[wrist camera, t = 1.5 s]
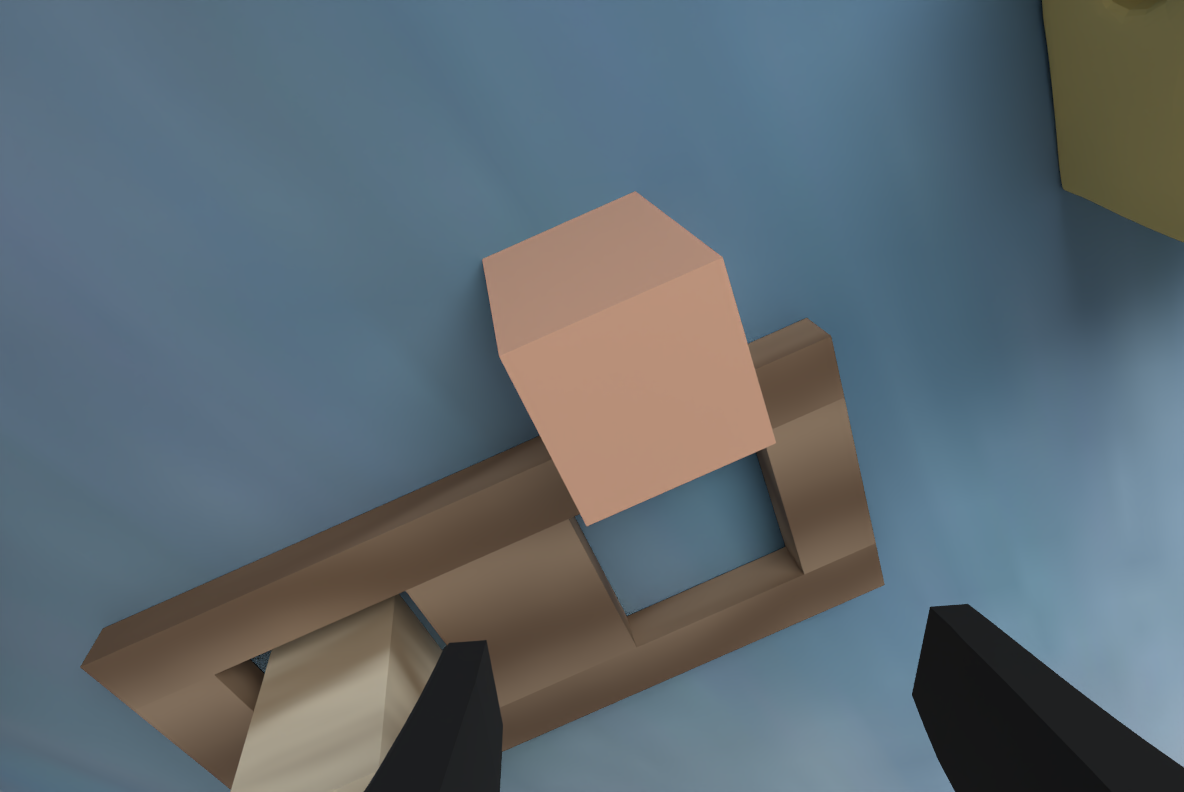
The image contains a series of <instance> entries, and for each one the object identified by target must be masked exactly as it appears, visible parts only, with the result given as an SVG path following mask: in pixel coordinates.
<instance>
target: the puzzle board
mask: <svg viewBox="0 0 1184 792" xmlns="http://www.w3.org/2000/svg"><path fill="white" fill-rule="evenodd" d="M748 347H749V350H750V354H751V357H752V361H753V364H754V368H755V371H756V375H757V378H758V382H759V385H760V389H761V392H762V395H763V399H764V402H765V406H766V409H767V413H768V416H769V420H770V423H771V427H772V430H773V434H774V437H775V440H776V443H775V444H773V445H771V446H769V447H766V448H764V449H762V450H760V451H757V452H756V454H757V457H758V460H759V463H760V466H761V470H762V473H763V476H764V479H765V482H766V486H767V489H768V492H769V495H770V498H771V502H772V505H773V508H774V511H775V514H776V518H777V521H778V524H779V527H780V530H781V534H782V537H783V540H784V543H785V547H784V548H782V549H780V550H777V551H775V552H773V553H771V554H768V555H766V556H764V557H761V558H759V559H757V560H755V561H752V562H750V563H748V564H745V565H743V566H741V567H739V568H736V569H734V570H732V571H729V572H727V573H725V574H723V575H720V576H718V577H716V578H713V579H711V580H709V581H707V582H704V583H702V584H700V585H698V586H695V587H693V588H691V589H688V590H686V591H684V592H682V593H679V594H677V595H675V596H672V597H670V598H668V599H666V600H663V601H661V602H659V603H656V604H654V605H652V606H650V607H647V608H645V609H643V610H640V611H638V612H636V613H634V614H631V615H629V616H626V614H625V612H624V610H623V608H622V606H621V605H620V603H619V601H618V599H617V597H616V595H615V593H614V591H613V589H612V587H611V585H610V584H609V582H608V580H607V578H606V576H605V574H604V572H603V570H602V568H601V566H600V564H599V562H598V561H597V559H596V557H595V555H594V553H593V551H592V549H591V547H590V545H589V543H588V541H587V539H586V538H585V536H584V534H583V532H582V530H581V528H580V526H579V524H578V522H577V520H576V518H575V517H574V516H576V515H579V514H580V512H579V510H578V509H577V507H576V505H575V503H574V501H573V499H572V497H571V495H570V493H569V491H568V489H567V487H566V485H565V483H564V481H563V479H562V477H561V475H560V474H559V472H558V470H557V468H556V466H555V464H554V462H553V460H552V458H551V456H550V454H549V452H548V450H547V448H546V446H545V444H544V442H543V441H542V439H541V437H540V436H538V437H536V438H534V439H531V440H529V441H527V442H524V443H522V444H520V445H518V446H515V447H513V448H511V449H509V450H506V451H504V452H502V453H500V454H497V455H495V456H493V457H490V458H488V459H486V460H484V461H481V462H479V463H477V464H475V465H472V466H470V467H468V468H466V469H463V470H461V471H459V472H456V473H454V474H452V475H450V476H447V477H445V478H443V479H441V480H438V481H436V482H434V483H432V484H429V485H427V486H425V487H423V488H420V489H418V490H416V491H413V492H411V493H409V494H407V495H404V496H402V497H400V498H398V499H395V500H393V501H391V502H389V503H386V504H384V505H382V506H379V507H377V508H375V509H373V510H370V511H368V512H366V513H364V514H361V515H359V516H357V517H355V518H352V519H350V520H348V521H345V522H343V523H341V524H339V525H336V526H334V527H332V528H330V529H327V530H325V531H323V532H321V533H318V534H316V535H314V536H311V537H309V538H307V539H305V540H302V541H300V542H298V543H296V544H293V545H291V546H289V547H287V548H284V549H282V550H280V551H277V552H275V553H273V554H271V555H268V556H266V557H264V558H262V559H259V560H257V561H255V562H253V563H250V564H248V565H246V566H243V567H241V568H239V569H237V570H234V571H232V572H230V573H228V574H225V575H223V576H221V577H219V578H216V579H214V580H212V581H210V582H207V583H205V584H203V585H200V586H198V587H196V588H194V589H191V590H189V591H187V592H185V593H182V594H180V595H178V596H176V597H173V598H171V599H169V600H166V601H164V602H162V603H160V604H157V605H155V606H153V607H151V608H148V609H146V610H144V611H142V612H139V613H137V614H135V615H132V616H130V617H128V618H126V619H123V620H121V621H119V622H117V623H114V624H112V625H110V626H108V627H105V628H103V629H102V631H101V633H100V634H99V636H98V638H97V639H96V641H95V643H94V645H93V646H92V648H91V650H90V651H89V653H88V655H87V656H86V658H85V660H84V661H83V663H82V665H81V668H82V669H83V670H84V671H85V672H87V673H88V674H89V675H90V676H92V677H93V678H94V679H95V680H97V681H98V682H99V683H100V684H101V685H103V686H104V687H105V688H106V689H108V690H109V691H110V692H111V693H113V694H114V695H115V696H116V697H117V698H119V699H120V700H121V701H122V702H124V703H125V704H126V705H127V706H129V707H130V708H131V709H132V710H133V711H135V712H136V713H137V714H138V715H140V716H141V717H142V718H143V719H145V720H146V721H147V722H148V723H149V724H151V725H152V726H153V727H154V728H156V729H157V730H158V731H159V732H161V733H162V734H163V735H164V736H165V737H167V738H168V739H169V740H170V741H172V742H173V743H174V744H175V745H177V746H178V747H179V748H180V749H181V750H183V751H184V752H185V753H186V754H188V755H189V756H190V757H191V758H193V759H194V760H195V761H196V762H197V763H199V764H200V765H201V766H202V767H204V768H205V769H206V770H207V771H209V772H210V773H211V774H212V775H213V776H215V777H216V778H217V779H218V780H220V781H221V782H222V783H223V784H224V785H226V786H227V787H228V788H229V789H231V788H232V785H233V782H234V778H235V775H236V771H237V768H238V764H239V761H240V757H241V754H242V751H243V747H244V744H245V740H246V737H247V733H248V730H249V726H250V723H251V720H252V716H253V713H254V709H255V706H256V702H257V699H258V695H259V692H260V688H261V685H262V682H263V678H264V675H265V674H264V673H263V672H262V671H261V670H260V669H259V668H258V667H257V666H256V665H255V664H254V663H253V662H252V661H251V660H250V659H251V658H254V657H256V656H258V655H260V654H263V653H265V652H267V651H269V650H272V649H274V648H276V647H279V646H281V645H283V644H285V643H288V642H290V641H292V640H294V639H297V638H299V637H301V636H304V635H306V634H308V633H310V632H313V631H315V630H317V629H319V628H322V627H324V626H326V625H329V624H331V623H333V622H335V621H338V620H340V619H342V618H344V617H347V616H349V615H351V614H354V613H356V612H358V611H360V610H363V609H365V608H367V607H369V606H372V605H374V604H376V603H379V602H381V601H383V600H385V599H388V598H390V597H392V596H395V595H397V594H399V593H401V592H404V591H406V592H407V593H408V595H409V596H410V597H411V599H412V600H413V601H414V603H415V604H416V605H417V606H418V608H419V609H420V610H421V612H422V613H423V614H424V616H425V617H426V618H427V620H428V621H429V622H430V624H431V625H432V626H433V628H434V629H435V630H436V632H437V633H438V634H439V636H440V637H441V638H442V640H443V641H444V642H445V643H446V645H448V644H449V643H454V642H467V641H480V640H487V645H488V650H489V655H490V660H491V665H492V670H493V676H494V681H495V686H496V691H497V696H498V702H499V707H500V712H501V717H502V722H503V738H502V752H503V751H505V750H508V749H510V748H512V747H514V746H517V745H519V744H521V743H524V742H526V741H528V740H530V739H533V738H535V737H537V736H540V735H542V734H544V733H546V732H549V731H551V730H553V729H556V728H558V727H560V726H563V725H565V724H567V723H569V722H572V721H574V720H576V719H579V718H581V717H583V716H585V715H588V714H590V713H592V712H595V711H597V710H599V709H601V708H604V707H606V706H608V705H611V704H613V703H615V702H617V701H620V700H622V699H624V698H627V697H629V696H631V695H633V694H636V693H638V692H640V691H643V690H645V689H647V688H650V687H652V686H654V685H656V684H659V683H661V682H663V681H666V680H668V679H670V678H672V677H675V676H677V675H679V674H682V673H684V672H686V671H688V670H691V669H693V668H695V667H698V666H700V665H702V664H704V663H707V662H709V661H711V660H714V659H716V658H718V657H721V656H723V655H725V654H727V653H730V652H732V651H734V650H737V649H739V648H741V647H743V646H746V645H748V644H750V643H753V642H755V641H757V640H759V639H762V638H764V637H766V636H769V635H771V634H773V633H775V632H778V631H780V630H782V629H785V628H787V627H789V626H791V625H794V624H796V623H798V622H801V621H803V620H805V619H808V618H810V617H812V616H814V615H817V614H819V613H821V612H824V611H826V610H828V609H830V608H833V607H835V606H837V605H840V604H842V603H844V602H846V601H849V600H851V599H853V598H856V597H858V596H860V595H862V594H865V593H867V592H869V591H872V590H874V589H876V588H878V587H881V586H883V585H884V580H883V575H882V571H881V566H880V561H879V557H878V552H877V547H876V543H875V538H874V534H873V529H872V524H871V520H870V515H869V510H868V506H867V501H866V496H865V492H864V487H863V482H862V478H861V473H860V468H859V464H858V459H857V454H856V450H855V445H854V440H853V436H852V431H851V426H850V422H849V417H848V412H847V408H846V403H845V398H844V394H843V389H842V384H841V380H840V375H839V370H838V366H837V361H836V356H835V352H834V347H833V342H832V338H831V336H830V335H829V334H828V333H826V332H825V331H824V330H822V329H821V328H820V327H818V326H817V325H816V324H814V323H813V322H812V321H810V320H809V319H808V318H805V319H803V320H801V321H799V322H796V323H794V324H792V325H790V326H787V327H785V328H783V329H781V330H778V331H776V332H774V333H771V334H769V335H767V336H765V337H762V338H760V339H758V340H756V341H753V342H751V343H749V344H748Z"/></svg>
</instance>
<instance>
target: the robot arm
mask: <svg viewBox="0 0 1184 792" xmlns="http://www.w3.org/2000/svg"><path fill="white" fill-rule="evenodd" d="M912 696H913V699H914V701H915V704H916V707H917V709H918V712H919V714H920V717H921V719H922V722H923V724H924V727H925V730H926V732H927V734H928V737H929V739H930V741H931V744H932V746H933V749H934V751H935V753H936V756H937V758H938V760H939V762H940V764H941V766H942V768H943V770H944V772H945V774H946V775H947V777H948V779H949V781H950V783H951V785H952V787H953V789H954V790H955V792H1184V767H1182V766H1181V765H1179V764H1178V763H1177V762H1175V761H1174V760H1172V759H1171V758H1169V757H1168V756H1167V755H1165V754H1164V753H1162V752H1161V751H1159V750H1158V749H1157V748H1155V747H1154V746H1152V745H1151V744H1150V743H1148V742H1147V741H1145V740H1144V739H1143V738H1141V737H1140V736H1138V735H1137V734H1136V733H1134V732H1133V731H1132V730H1130V729H1129V728H1127V727H1126V726H1125V725H1123V724H1122V723H1121V722H1119V721H1118V720H1117V719H1115V718H1114V717H1113V716H1111V715H1110V714H1109V713H1107V712H1106V711H1105V710H1103V709H1102V708H1101V707H1099V706H1098V705H1097V704H1095V703H1094V702H1093V701H1091V700H1090V699H1089V698H1087V697H1086V696H1085V695H1083V694H1082V693H1081V692H1080V691H1078V690H1077V689H1076V688H1074V687H1073V686H1072V685H1070V684H1069V683H1068V682H1067V681H1065V680H1064V679H1063V678H1061V677H1060V676H1059V675H1058V674H1056V673H1055V672H1054V671H1053V670H1051V669H1050V668H1049V667H1047V666H1046V665H1045V664H1044V663H1042V662H1041V661H1040V660H1039V659H1037V658H1036V657H1035V656H1033V655H1032V654H1031V653H1030V652H1028V651H1027V650H1026V649H1025V648H1023V647H1022V646H1021V645H1020V644H1018V643H1017V642H1016V641H1015V640H1013V639H1012V638H1011V637H1010V636H1008V635H1007V634H1006V633H1004V632H1003V631H1002V630H1001V629H999V628H998V627H997V626H996V625H994V624H993V623H992V622H991V621H989V620H988V619H987V618H985V617H984V616H983V615H982V614H980V613H979V612H978V611H976V610H975V609H974V608H972V607H971V606H970V605H968V604H962V605H948V606H935V607H930V610H929V615H928V619H927V624H926V629H925V634H924V639H923V644H922V649H921V654H920V658H919V663H918V668H917V673H916V678H915V683H914V688H913V692H912ZM502 738H503V722H502V717H501V712H500V707H499V702H498V696H497V691H496V686H495V681H494V676H493V670H492V665H491V660H490V655H489V650H488V645H487V640H480V641H467V642H454V643H449V644H448V645H447V646H446V647H445V648H444V649H443V651H442V653H441V655H440V657H439V659H438V661H437V664H436V666H435V668H434V670H433V672H432V674H431V676H430V678H429V680H428V681H427V683H426V685H425V687H424V689H423V691H422V693H421V695H420V697H419V699H418V700H417V702H416V704H415V706H414V708H413V710H412V711H411V713H410V715H409V717H408V719H407V721H406V722H405V724H404V726H403V728H402V729H401V731H400V733H399V734H398V736H397V738H396V739H395V741H394V743H393V745H392V746H391V748H390V750H389V751H388V753H387V755H386V757H385V758H384V760H383V762H382V763H381V765H380V767H379V768H378V770H377V772H376V773H375V775H374V776H373V778H372V780H371V781H370V783H369V784H368V786H367V787H366V789H365V790H364V792H500V778H501V760H502Z"/></svg>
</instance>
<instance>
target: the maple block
mask: <svg viewBox="0 0 1184 792" xmlns="http://www.w3.org/2000/svg"><path fill="white" fill-rule="evenodd" d="M441 653H442V649H441V648H440V647H439V645H438V644H437V643H436V642H435V640H434V639H433V638H432V636H431V635H430V634H429V632H428V631H427V630H426V629H425V627H424V626H423V625H422V623H421V622H420V621H419V619H418V618H417V617H416V615H415V614H414V613H413V612H412V610H411V609H410V608H409V606H408V605H407V604H406V602H405V601H404V600H403V599H402V597H401V596H400V595H399V594H397V595H395V596H392V597H390V598H388V599H385V600H383V601H381V602H379V603H376V604H374V605H372V606H369V607H367V608H365V609H363V610H360V611H358V612H356V613H354V614H351V615H349V616H347V617H344V618H342V619H340V620H338V621H335V622H333V623H331V624H329V625H326V626H324V627H322V628H319V629H317V630H315V631H313V632H310V633H308V634H306V635H304V636H301V637H299V638H297V639H294V640H292V641H290V642H288V643H285V644H283V645H281V646H279V647H276V648H274V649H272V651H271V654H270V657H269V661H268V664H267V668H266V671H265V675H264V678H263V682H262V685H261V688H260V692H259V695H258V699H257V702H256V706H255V709H254V713H253V716H252V720H251V723H250V726H249V730H248V733H247V737H246V740H245V744H244V747H243V751H242V754H241V757H240V761H239V764H238V768H237V771H236V775H235V778H234V782H233V785H232V788H231V792H364V790H365V789H366V787H367V786H368V784H369V783H370V781H371V780H372V778H373V776H374V775H375V773H376V772H377V770H378V768H379V767H380V765H381V763H382V762H383V760H384V758H385V757H386V755H387V753H388V751H389V750H390V748H391V746H392V745H393V743H394V741H395V739H396V738H397V736H398V734H399V733H400V731H401V729H402V728H403V726H404V724H405V722H406V721H407V719H408V717H409V715H410V713H411V711H412V710H413V708H414V706H415V704H416V702H417V700H418V699H419V697H420V695H421V693H422V691H423V689H424V687H425V685H426V683H427V681H428V680H429V678H430V676H431V674H432V672H433V670H434V668H435V666H436V664H437V661H438V659H439V657H440V655H441Z"/></svg>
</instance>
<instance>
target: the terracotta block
mask: <svg viewBox="0 0 1184 792" xmlns="http://www.w3.org/2000/svg"><path fill="white" fill-rule="evenodd" d="M482 261H483V266H484V272H485V278H486V284H487V290H488V295H489V301H490V307H491V313H492V318H493V324H494V330H495V336H496V341H497V347H498V353H499V357H500V359H501V361H502V363H503V365H504V367H505V369H506V371H507V373H508V374H509V376H510V378H511V380H512V382H513V384H514V386H515V388H516V390H517V392H518V394H519V396H520V398H521V400H522V402H523V404H524V406H525V407H526V409H527V411H528V413H529V415H530V417H531V419H532V421H533V423H534V425H535V427H536V429H537V431H538V433H539V435H540V437H541V439H542V441H543V442H544V444H545V446H546V448H547V450H548V452H549V454H550V456H551V458H552V460H553V462H554V464H555V466H556V468H557V470H558V472H559V474H560V475H561V477H562V479H563V481H564V483H565V485H566V487H567V489H568V491H569V493H570V495H571V497H572V499H573V501H574V503H575V505H576V507H577V509H578V510H579V512H580V514H581V516H582V518H583V520H584V522H585V524H586V526H589V525H591V524H593V523H595V522H598V521H600V520H602V519H605V518H607V517H609V516H611V515H614V514H616V513H618V512H621V511H623V510H625V509H627V508H630V507H632V506H634V505H636V504H639V503H641V502H643V501H646V500H648V499H650V498H652V497H655V496H657V495H659V494H662V493H664V492H666V491H668V490H671V489H673V488H675V487H677V486H680V485H682V484H684V483H687V482H689V481H691V480H693V479H696V478H698V477H700V476H703V475H705V474H707V473H709V472H712V471H714V470H716V469H718V468H721V467H723V466H725V465H728V464H730V463H732V462H734V461H737V460H739V459H741V458H744V457H746V456H748V455H750V454H753V453H755V452H757V451H760V450H762V449H764V448H766V447H769V446H771V445H773V444H775V443H776V440H775V437H774V434H773V430H772V427H771V423H770V420H769V416H768V413H767V409H766V406H765V402H764V399H763V395H762V392H761V389H760V385H759V382H758V378H757V375H756V371H755V368H754V364H753V361H752V357H751V354H750V350H749V347H748V344H747V340H746V337H745V333H744V330H743V326H742V323H741V319H740V316H739V312H738V309H737V305H736V302H735V299H734V295H733V292H732V288H731V285H730V281H729V278H728V274H727V271H726V267H725V264H724V260H723V257H722V256H720V255H719V254H718V253H716V252H715V251H714V250H712V249H711V248H710V247H708V246H707V245H706V244H704V243H703V242H702V241H700V240H699V239H698V238H696V237H695V236H694V235H692V234H691V233H690V232H688V231H687V230H686V229H685V228H683V227H682V226H681V225H679V224H678V223H677V222H675V221H674V220H673V219H671V218H670V217H669V216H667V215H666V214H665V213H663V212H662V211H661V210H659V209H658V208H657V207H655V206H654V205H653V204H651V203H650V202H649V201H647V200H646V199H645V198H644V197H642V196H641V195H640V194H638V193H637V192H636V191H635V192H633V193H630V194H628V195H626V196H624V197H621V198H619V199H617V200H615V201H612V202H610V203H608V204H606V205H603V206H601V207H599V208H597V209H594V210H592V211H590V212H588V213H585V214H583V215H581V216H579V217H576V218H574V219H572V220H570V221H567V222H565V223H563V224H561V225H558V226H556V227H554V228H552V229H549V230H547V231H545V232H543V233H540V234H538V235H536V236H534V237H531V238H529V239H527V240H525V241H522V242H520V243H518V244H515V245H513V246H511V247H509V248H506V249H504V250H502V251H500V252H497V253H495V254H493V255H491V256H488V257H486V258H484V259H482Z"/></svg>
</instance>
